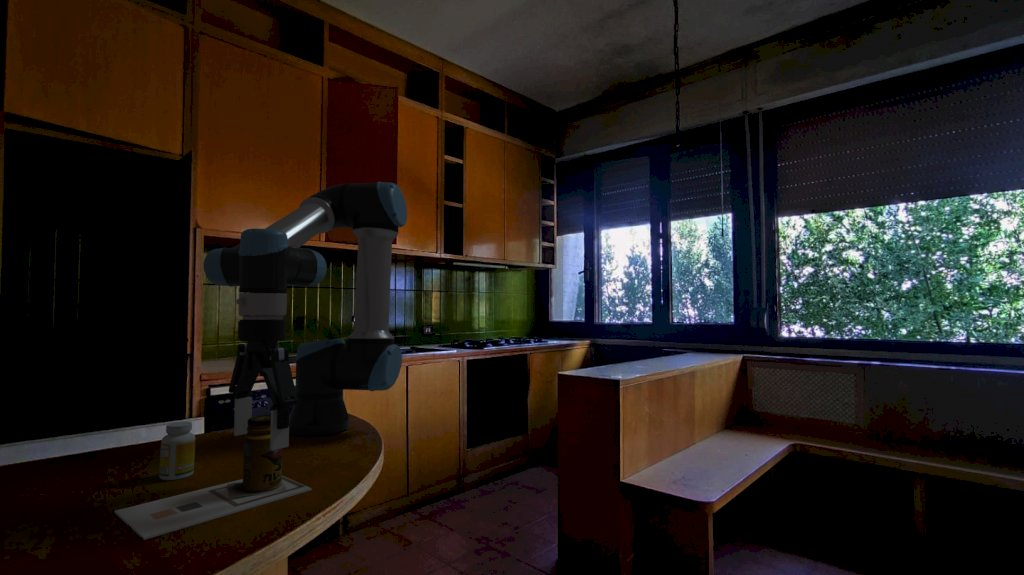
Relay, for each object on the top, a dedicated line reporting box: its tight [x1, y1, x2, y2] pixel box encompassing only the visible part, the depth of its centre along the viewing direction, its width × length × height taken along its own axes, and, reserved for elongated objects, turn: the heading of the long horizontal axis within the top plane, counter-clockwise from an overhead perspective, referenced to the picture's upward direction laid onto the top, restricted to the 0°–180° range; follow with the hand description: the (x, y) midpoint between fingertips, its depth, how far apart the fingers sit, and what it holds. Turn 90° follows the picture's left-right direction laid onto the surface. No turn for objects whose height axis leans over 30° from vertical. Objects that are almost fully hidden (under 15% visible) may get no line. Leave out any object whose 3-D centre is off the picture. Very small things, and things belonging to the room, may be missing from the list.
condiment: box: [227, 414, 287, 499], centre depth 85 cm, size 7×8×12 cm
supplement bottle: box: [158, 421, 196, 481], centre depth 92 cm, size 5×5×10 cm
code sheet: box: [114, 475, 313, 541], centre depth 80 cm, size 24×14×1 cm, turn 142°
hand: (260, 441), depth 86 cm, fingers open, 13 cm apart
